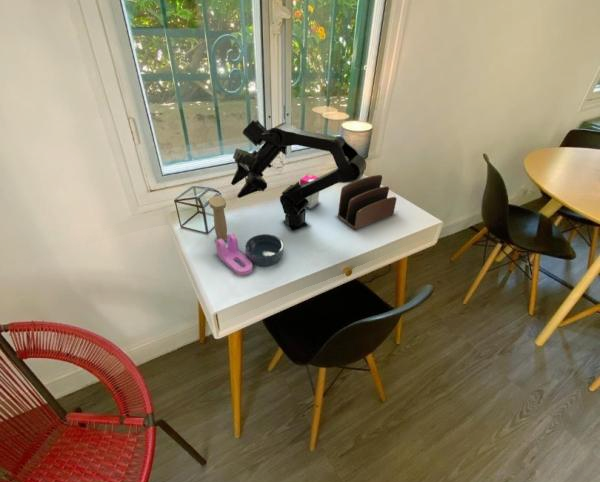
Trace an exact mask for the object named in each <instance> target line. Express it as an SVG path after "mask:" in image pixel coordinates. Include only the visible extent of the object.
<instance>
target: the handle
mask: <svg viewBox="0 0 600 482" xmlns="http://www.w3.org/2000/svg"><path fill="white" fill-rule="evenodd" d="M208 204H209V207H210V208H211V209H212V211H213V213H212V214H213V223H214V224H213V227H214V231H215V235H216V240H218V239H220V238H221V239H223V241H224V242H226V241H227V240H228V239H227V236H228V225H227V219H226V214H225V209H226V207H227V201H226V198H225V197H223V196H221V195H215V196H212V197H209V199H208Z"/></svg>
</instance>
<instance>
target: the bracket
mask: <svg viewBox="0 0 600 482" xmlns="http://www.w3.org/2000/svg"><path fill="white" fill-rule="evenodd" d="M226 240H227V244H226V241H223V239H221V238H220V239H218V240H217V239H216V240H215V246H216V247H215V248H216V249H215V250H216V256H217V257H218V258H219V259H220V260H221V261H222V262H223V263H224V264H226V266H228V267H229V268H230V269H231V270H232V271H233V272H234V273H235V274H236V275H239V276H246V275H249V274H250V273H252V271H253V268H254V267H253V266H254V265H253V264H252V262H251V261H250V260H249V259H248V258H247V256H246V255H244V253H242V252H241V251H240V249H239V240H238V237H237V236H236V234H235V233H234V232H232V233H229V234H227V239H226ZM236 261H238V262H240V264H241V265H242V266H243V267H242V266H241V265H240V264H238V263H237V262H236Z"/></svg>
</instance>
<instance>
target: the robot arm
mask: <svg viewBox="0 0 600 482" xmlns="http://www.w3.org/2000/svg"><path fill="white" fill-rule="evenodd" d="M242 135H243V136H244V137H245V138H246V139H247V140H248V141H249V142H250V143H252V144H253V146H255V147H258V146H259V147H260V148H259V149H258V150H253V151H252V152H249V151H246V150H244V149H241V148H236V149H235V151H234V153H233V156H232V159H234V162H235V163H236V171H235V173H234V175H233V178H232V180H231V182H230V184H231V185H232V186H235V185H237V184H238V183H240V182H241V181H243V180H244V181H245V182H244V183H245V184H244V185H243V186H242V187H241V189H240V190H239V192H238V193H237V195H236V197H237V198H238V199H241V198H243V197H246V196H248V195H250V194H254V193H256V192H264V191H265V190H266V189H267V188H268V183H267V181H266V179H265V178H263V177H264V172H265V171H266V169H268V168H269V169H271V168H272V162H273V161H274V160H275V159H276V158H277V157H278V156H279V155H280V154H281V153H282V154H283V155H285V156H287V155H288V150H287V149H288V147H290V146H299V147H304V148H310V149H314V150H320V151H324V152H329V153H330V154H331V155H332V159H333V160H334V163H335V165H336V168H335V169H333V170H331V171H329V172H327V173H325V174H323V175H320V176H319V178H317V179H315V180H313V181H311V182H309V183H307V184H305V185H300V181H296V183H294V184H290V185H289V186H288V187H287V188H286V189H285V190H283V191H282V192H281V195H280V196H279V201H280V205H281V208H282V210H283V214H285V215H284V220H283V224H285V226H287V228H289V229H290V231H291V232H294V231H297V230H300V229H303V228H306V227H308V223H307V222H306V213H307V209H306V207H307V205H308V203H309V201H308V200H307V199H306V197H308V196H311V195H313V194H315V193H317V192H319V193H320V192H321V191H323V190H325V189H328V188H330V187H333V186H334V185H337V184H339V183H340V184H348V183H352V182H355V181H357V180H359V178H360V176H361V175H362V174H363V173H364V171H365V170H366V169H367V162H366V159H365V158H364V157H363V156H361V155H360V154H359V153H358V151H357V150H356V148H354V147H353V146H351V145H350V144H348V143H347V141H346V139H344V137H342V136H340V135H337V136H335V135H329V134H326V133H325V134H324V133H318V132H312V131H307V130H303V129H300V128H298V127H297V126H296V125H293V124H290V123H288V122H281V123H280V124H278V125H276V126H274V127H270V128H268V129H267V128H266V127H264V125H263V124H262V123H261V122H260V121H259V120H258V118H254V119H253V120H252V119H251V122H250V123H249V124H248V125H246V127H244V129H243V131H242Z"/></svg>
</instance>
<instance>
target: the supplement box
mask: <svg viewBox="0 0 600 482" xmlns="http://www.w3.org/2000/svg"><path fill="white" fill-rule="evenodd" d="M319 177H320V176H319ZM319 177H318V176H316V175H312V174H309V173H307V174H306V175H304V176H303V177H301V178H300V179H299V184H300V185H305V184H307V183H309V182H311V181H313V180H315V179H317V178H319ZM319 197H320V191H319V192H317V193H315V194H313V195H311V196H308V197H306V199H307V200H308V201H309V203H308V205H307V207H305V209H306V208H307V209H309V210H312V209H314V208H315V207H316V206H317V205H318V204H319Z"/></svg>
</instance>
